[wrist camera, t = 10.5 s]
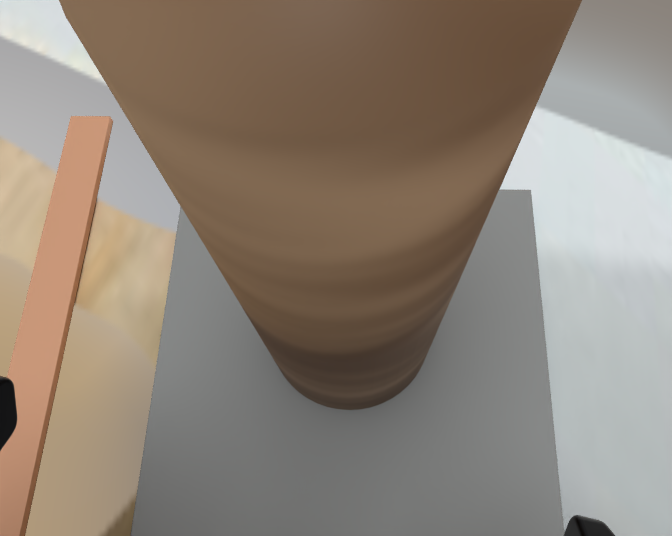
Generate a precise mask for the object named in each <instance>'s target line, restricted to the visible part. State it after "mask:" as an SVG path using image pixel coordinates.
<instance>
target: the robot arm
mask: <svg viewBox="0 0 672 536" xmlns="http://www.w3.org/2000/svg"><path fill="white" fill-rule="evenodd" d="M16 425H17V408H16V398H15V388H14V384H13V382H12V381H11V379H9V378H7V377H3V376H0V451H1V449H2V448H3V446H4V445H5V444H6V442H7V441H8V440H9V438H10V437H11V435H12V434H13V432H14V430H15V428H16ZM564 536H615V535H614V533H613V532H612V531H611V530H610V529H609V528H608V526H607V525H606V524H605V523H603V522H602V521H599V520H596V519H592V518H588V517H584V516H579V515H576V516H573V517H572V518H571V519H570V521H569V523H568V526H567V528H566V531H565V533H564Z"/></svg>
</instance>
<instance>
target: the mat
mask: <svg viewBox="0 0 672 536" xmlns="http://www.w3.org/2000/svg"><path fill="white" fill-rule="evenodd" d="M131 536H564V527H563V516H562V506H561V496H560V485H559V475H558V465H557V455H556V444H555V434H554V424H553V413H552V403H551V393H550V382H549V372H548V362H547V351H546V341H545V331H544V321H543V310H542V300H541V290H540V279H539V269H538V259H537V248H536V238H535V228H534V217H533V207H532V197H531V190H499V191H498V193H497V196H496V198H495V200H494V202H493V205H492V207H491V209H490V212H489V214H488V216H487V218H486V221H485V223H484V225H483V228H482V230H481V232H480V234H479V237H478V239H477V241H476V244H475V246H474V248H473V250H472V253H471V255H470V257H469V260H468V262H467V264H466V266H465V269H464V271H463V273H462V276H461V278H460V280H459V282H458V285H457V287H456V289H455V292H454V294H453V296H452V298H451V301H450V303H449V305H448V308H447V310H446V312H445V314H444V317H443V319H442V321H441V324H440V326H439V328H438V330H437V333H436V335H435V337H434V340H433V342H432V344H431V346H430V349H429V351H428V353H427V356H426V358H425V360H424V362H423V365H422V367H421V369H420V370H419V372H418V374H417V375H416V377H415V378H414V379H413V380H412V382H411V383H410V384H409V385H408V386H407V387H406V388H405V389H404V390H403V391H402V392H400V393H399V394H398V395H396V396H395V397H393V398H392V399H390V400H388V401H386V402H384V403H382V404H379V405H376V406H373V407H370V408H365V409H358V410H342V409H335V408H330V407H326V406H324V405H321V404H318V403H316V402H314V401H312V400H310V399H308V398H307V397H305V396H304V395H302V394H301V393H299V392H298V391H297V390H296V389H295V388H294V387H293V386H292V385H291V384H290V383H289V382H288V381H287V379H286V378H285V377H284V375H283V374H282V372H281V371H280V369H279V367H278V366H277V364H276V362H275V361H274V359H273V357H272V356H271V354H270V352H269V351H268V349H267V347H266V346H265V344H264V343H263V341H262V339H261V338H260V336H259V334H258V333H257V331H256V329H255V328H254V326H253V324H252V323H251V321H250V319H249V318H248V316H247V315H246V313H245V311H244V310H243V308H242V306H241V305H240V303H239V301H238V300H237V298H236V296H235V295H234V293H233V291H232V290H231V288H230V286H229V285H228V283H227V282H226V280H225V278H224V277H223V275H222V273H221V272H220V270H219V268H218V267H217V265H216V263H215V262H214V260H213V258H212V257H211V255H210V254H209V252H208V250H207V249H206V247H205V245H204V244H203V242H202V240H201V239H200V237H199V235H198V234H197V232H196V230H195V229H194V227H193V225H192V224H191V222H190V221H189V219H188V217H187V216H186V214H185V212H184V211H183V209H182V207H181V208H180V214H179V221H178V227H177V234H176V240H175V247H174V254H173V260H172V267H171V273H170V280H169V286H168V293H167V300H166V306H165V313H164V319H163V326H162V332H161V339H160V346H159V352H158V359H157V365H156V372H155V378H154V385H153V392H152V398H151V405H150V411H149V418H148V425H147V431H146V438H145V444H144V451H143V457H142V464H141V470H140V477H139V484H138V490H137V497H136V503H135V510H134V516H133V523H132V530H131Z"/></svg>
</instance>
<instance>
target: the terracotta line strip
mask: <svg viewBox="0 0 672 536" xmlns="http://www.w3.org/2000/svg"><path fill="white" fill-rule="evenodd" d="M112 124H113V121H112V119H111V117H109V116H102V117H101V116H86V117H85V116H71V118H70V122H69V127H68V131H67V135H66V139H65V143H64V147H63V151H62V155H61V159H60V163H59V167H58V171H57V175H56V179H55V184H54V188H53V192H52V196H51V200H50V204H49V208H48V212H47V216H46V220H45V224H44V228H43V232H42V236H41V241H40V245H39V249H38V253H37V257H36V261H35V265H34V269H33V273H32V277H31V281H30V285H29V290H28V293H27V298H26V302H25V306H24V310H23V314H22V318H21V322H20V326H19V330H18V334H17V338H16V342H15V346H14V351H13V355H12V359H11V363H10V367H9V371H8V375H7V378H9V379H11V381H12V382H13V384H14V388H15V398H16V408H17V425H16V428H15V430H14V432H13V434H12V435H11V437H10V438H9V440H8V441H7V442H6V444H5V445H4V446H3V448H2V449H1V451H0V536H25V533H26V528H27V523H28V519H29V514H30V509H31V505H32V499H33V495H34V490H35V486H36V481H37V476H38V472H39V467H40V462H41V457H42V453H43V448H44V443H45V439H46V434H47V429H48V425H49V420H50V415H51V410H52V406H53V401H54V396H55V391H56V387H57V383H58V378H59V373H60V368H61V363H62V359H63V354H64V350H65V345H66V340H67V336H68V331H69V326H70V321H71V317H72V312H73V307H74V303H75V298H76V293H77V289H78V284H79V279H80V274H81V270H82V265H83V260H84V256H85V251H86V246H87V242H88V237H89V232H90V228H91V223H92V218H93V213H94V209H95V204H96V199H97V195H98V190H99V185H100V181H101V176H102V171H103V166H104V162H105V157H106V152H107V148H108V143H109V138H110V133H111V129H112Z"/></svg>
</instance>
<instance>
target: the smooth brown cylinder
mask: <svg viewBox="0 0 672 536" xmlns="http://www.w3.org/2000/svg"><path fill="white" fill-rule="evenodd" d="M59 1H60V3H61V6H62V9H63V11H64V14H65V16H66V18H67V19H68V21H69V23H70V24H71V26H72V28H73V29H74V31H75V33H76V34H77V36H78V38H79V39H80V41H81V42H82V44H83V46H84V47H85V49H86V51H87V52H88V54H89V56H90V57H91V59H92V61H93V62H94V64H95V66H96V67H97V69H98V71H99V72H100V74H101V75H102V77H103V79H104V80H105V82H106V84H107V85H108V87H109V89H110V90H111V92H112V94H113V95H114V97H115V98H116V100H117V102H118V103H119V105H120V107H121V108H122V110H123V112H124V113H125V115H126V117H127V118H128V120H129V121H130V123H131V125H132V126H133V128H134V130H135V132H136V133H137V135H138V136H139V138H140V140H141V141H142V143H143V145H144V146H145V148H146V150H147V151H148V153H149V155H150V156H151V158H152V160H153V161H154V163H155V164H156V166H157V168H158V169H159V171H160V173H161V174H162V176H163V178H164V179H165V181H166V183H167V184H168V186H169V187H170V189H171V191H172V192H173V194H174V196H175V197H176V199H177V200H178V202H179V204H180V206H181V207H182V209H183V211H184V212H185V214H186V216H187V217H188V219H189V221H190V222H191V224H192V225H193V227H194V229H195V230H196V232H197V234H198V235H199V237H200V239H201V240H202V242H203V244H204V245H205V247H206V249H207V250H208V252H209V254H210V255H211V257H212V258H213V260H214V262H215V263H216V265H217V267H218V268H219V270H220V272H221V273H222V275H223V277H224V278H225V280H226V282H227V283H228V285H229V286H230V288H231V290H232V291H233V293H234V295H235V296H236V298H237V300H238V301H239V303H240V305H241V306H242V308H243V310H244V311H245V313H246V315H247V316H248V318H249V319H250V321H251V323H252V324H253V326H254V328H255V329H256V331H257V333H258V334H259V336H260V338H261V339H262V341H263V343H264V344H265V346H266V347H267V349H268V351H269V352H270V354H271V356H272V357H273V359H274V361H275V362H276V364H277V366H278V367H279V369H280V371H281V372H282V374H283V375H284V377H285V378H286V379H287V381H288V382H289V383H290V384H291V385H292V386H293V387H294V388H295V389H296V390H297V391H298V392H299V393H301V394H302V395H304V396H305V397H307V398H308V399H310V400H312V401H314V402H316V403H318V404H321V405H324V406H326V407H330V408H335V409H342V410H358V409H365V408H370V407H373V406H376V405H379V404H382V403H384V402H386V401H388V400H390V399H392V398H393V397H395V396H396V395H398V394H399V393H400V392H402V391H403V390H404V389H405V388H406V387H407V386H408V385H409V384H410V383H411V382H412V380H413V379H414V378H415V377H416V375H417V374H418V372H419V370H420V369H421V367H422V365H423V362H424V360H425V358H426V356H427V353H428V351H429V349H430V346H431V344H432V342H433V340H434V337H435V335H436V333H437V330H438V328H439V326H440V324H441V321H442V319H443V317H444V314H445V312H446V310H447V308H448V305H449V303H450V301H451V298H452V296H453V294H454V292H455V289H456V287H457V285H458V282H459V280H460V278H461V276H462V273H463V271H464V269H465V266H466V264H467V262H468V260H469V257H470V255H471V253H472V250H473V248H474V246H475V244H476V241H477V239H478V237H479V234H480V232H481V230H482V228H483V225H484V223H485V221H486V218H487V216H488V214H489V212H490V209H491V207H492V205H493V202H494V200H495V198H496V196H497V193H498V191H499V189H500V186H501V184H502V182H503V180H504V177H505V175H506V173H507V170H508V168H509V166H510V164H511V161H512V159H513V157H514V154H515V152H516V150H517V148H518V145H519V143H520V141H521V138H522V136H523V134H524V132H525V129H526V127H527V125H528V122H529V120H530V118H531V116H532V113H533V111H534V109H535V106H536V104H537V102H538V100H539V97H540V95H541V93H542V90H543V88H544V86H545V83H546V81H547V79H548V76H549V74H550V72H551V70H552V68H553V65H554V63H555V61H556V58H557V56H558V54H559V52H560V49H561V47H562V44H563V42H564V40H565V38H566V35H567V33H568V31H569V29H570V26H571V24H572V22H573V20H574V17H575V15H576V12H577V10H578V8H579V6H580V3H581V1H582V0H59Z"/></svg>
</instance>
